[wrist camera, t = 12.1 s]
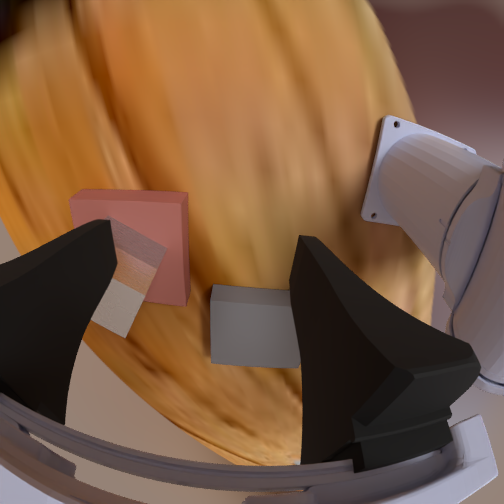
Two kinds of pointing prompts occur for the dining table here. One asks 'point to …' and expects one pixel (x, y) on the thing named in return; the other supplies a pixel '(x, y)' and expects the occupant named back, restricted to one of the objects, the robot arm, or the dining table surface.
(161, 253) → the grey cube
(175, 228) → the stand
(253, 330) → the stand
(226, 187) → the dining table surface
